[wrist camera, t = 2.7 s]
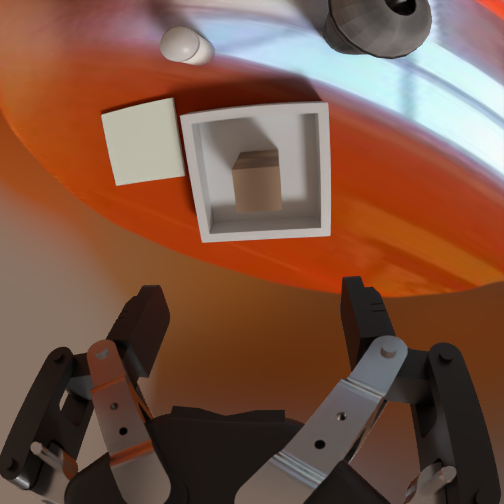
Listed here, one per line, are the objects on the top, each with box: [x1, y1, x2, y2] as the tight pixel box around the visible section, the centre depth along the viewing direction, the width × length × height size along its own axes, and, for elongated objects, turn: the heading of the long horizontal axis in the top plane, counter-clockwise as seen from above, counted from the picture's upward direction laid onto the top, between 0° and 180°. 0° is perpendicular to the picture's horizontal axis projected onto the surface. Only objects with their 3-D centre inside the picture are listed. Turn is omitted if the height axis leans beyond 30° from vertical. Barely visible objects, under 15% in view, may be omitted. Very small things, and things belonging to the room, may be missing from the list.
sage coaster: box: [101, 97, 186, 186], centre depth 32 cm, size 9×9×1 cm
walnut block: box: [232, 150, 282, 213], centre depth 29 cm, size 4×4×7 cm
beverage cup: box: [324, 0, 432, 59], centre depth 16 cm, size 7×7×20 cm
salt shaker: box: [160, 27, 215, 66], centre depth 23 cm, size 3×3×8 cm
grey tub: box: [180, 101, 331, 243], centre depth 31 cm, size 14×14×4 cm
